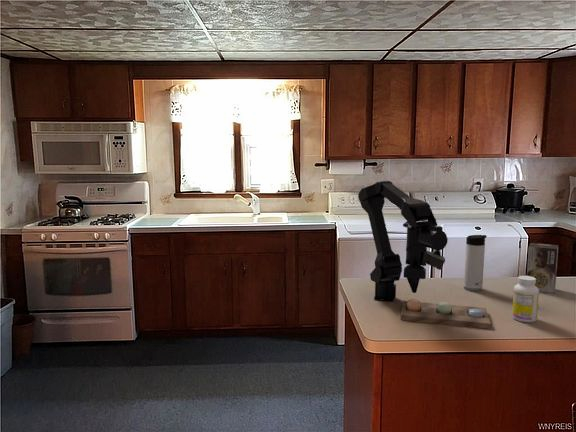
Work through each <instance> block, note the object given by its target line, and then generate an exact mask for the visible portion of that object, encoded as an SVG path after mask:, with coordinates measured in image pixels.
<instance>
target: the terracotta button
mask: <svg viewBox="0 0 576 432" xmlns="http://www.w3.org/2000/svg"><path fill="white" fill-rule="evenodd" d="M406 301H407V309H408V310H407V311H416V312H421V311H420V307H421V301H420V300H419V299H415V298H414V299H413V298H412V299H408V300H406Z"/></svg>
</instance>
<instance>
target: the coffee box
mask: <svg viewBox="0 0 576 432" xmlns="http://www.w3.org/2000/svg"><path fill="white" fill-rule="evenodd" d="M558 254H559V245H558V244H547V243H536V242H530V243H529V246H528V257H527V268H526V269H527V271H526V276H531V277H534V278H536V283H535V286H536V287H537V288H538V289H539V292H542V293H543V292H544V293H550V294H555V292H556V285H557V284H556V283H557V269H558V257H559V255H558Z"/></svg>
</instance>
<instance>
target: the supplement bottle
mask: <svg viewBox="0 0 576 432" xmlns="http://www.w3.org/2000/svg"><path fill="white" fill-rule="evenodd" d="M517 281H518V283H517V284H515V285H514V286H513V296H512V297H513V299H512V309H511V310H512V312H511V316H512V318H513V319H514V320H516V321H519V322H522V323H533V322H534V323H535V322H536V321H537V319H538V309H539V297H540V296H539V294H540V291H539V289H538V288H537V287H536V286H535V283H536V278H534V277H531V276H527V275H519V276H518V277H517Z"/></svg>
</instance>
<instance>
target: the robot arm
mask: <svg viewBox="0 0 576 432" xmlns="http://www.w3.org/2000/svg"><path fill="white" fill-rule="evenodd" d="M357 199H358V201H359V203H360V206H361V209H363V210H364V211H365V212H366V213H367V215H368V220H369V224H370V228H371V233H372V237H373V242H374V244H375V245H374V246H375V250H376V256H375V260H374V269H373V270H372V271H370V273H369V276H370V281H372V282H374V297H373V301H374V300H375V301H376V300H377V301H387V302H394V301H395V299H396V297H397V284H396V283H395V282H396V281H400V279H401V276H402V275H401V274H402V272H403V278H405V279H407V282H408V284H409V288H410V290H411V292H412V293H414V294H416V293H417V292H418V288H419V284H420V280H425V279H426V278H427V277H426V276H427V275H426V274H427V269H426V268H425V267H426V266H427V265H428V266H431V267H433V268H436V269H437V270H440V271H441V270H442V269H443V266H444V264H445V262H446V258H445V257H444V256H443V255H442V254H441V250H442V251H443V249H445V248H446V247H447V244H448V240H449V239H448V236H447V233H446V232H445V231H443V226H442V225H441V226H440V225H439V226H438V222H437V219H436V218H435V216H434V213H433V211H432V209H431V206H430V204H429V203H428V202H426V201H424V200H422V199H418V198H414V197H411V196H410V195H408V194H407V193H406V192H404V191H403V190H402V189H400V188H399V187H397V186H395V184H393V182H392V181H390V180H378V181H376V182H375V183H374V184H371V185H368V186H365V187H363V188H360V191H359V192H358V198H357ZM385 199H387V200H388V201H389V202H390V203H392V204H393V205H395V206H396V207H397V208H398V209H399V210H400V215H401V216H402V217H403V218H404V219H405V220H406V222H404V223H403V224H402V227H404V228H406V244H405V245H406V248H405V265H406V266H405V267H404V268H403V264H402V261H401V256H400V255H399V253H395V252H394V251H393V249H392V246H391V241H390V237H389V233H388V229H387V225H386V222H385V221H386V219H385V218H384V213H383V208H384V205H385ZM428 248H429V249H432V250H433V251H429V250H428Z"/></svg>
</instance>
